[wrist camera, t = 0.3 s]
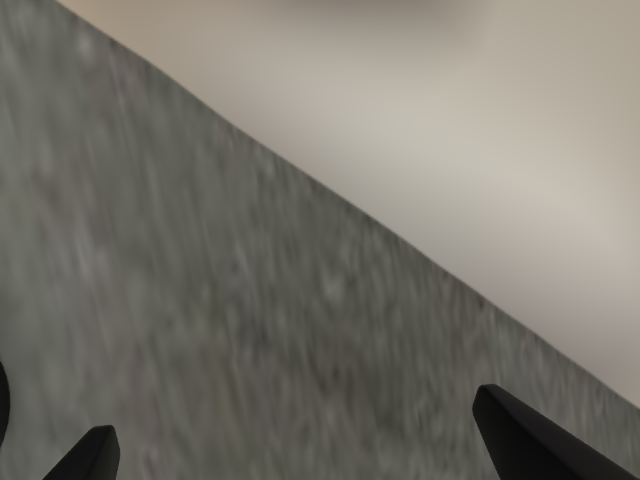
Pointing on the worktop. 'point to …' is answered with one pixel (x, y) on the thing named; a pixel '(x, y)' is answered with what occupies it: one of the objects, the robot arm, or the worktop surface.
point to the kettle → (3, 403)
